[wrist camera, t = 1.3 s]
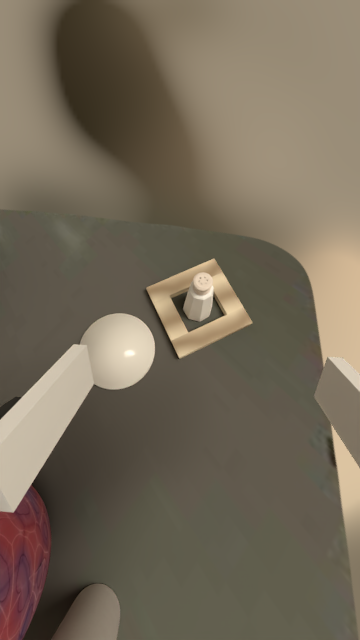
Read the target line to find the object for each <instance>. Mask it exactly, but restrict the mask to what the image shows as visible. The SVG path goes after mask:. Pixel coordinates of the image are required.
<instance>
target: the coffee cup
mask: <svg viewBox="0 0 360 640" xmlns="http://www.w3.org/2000/svg"><path fill="white" fill-rule="evenodd" d="M119 622H120V605H119V601H118V599H117V596H116V595H115V593H114V592H113V590H112V589H111V588H109V587H108V586H106V585H104V584H99V583H97V584H92V585H89V586H87V587H86V588H84V589H83V590H82V591H81V592H80V593H79V594H78V596H77V597H76V599H75V601H74V602H73V604H72V605H71V607H70V609H69V610H68V612H67V614H66V615H65V617H64V619H63V620H62V622H61V624H60V625H59V627H58V629H57V630H56V632H55V634H54V635H53V637H52V638H51V640H116V639H117V634H118V628H119Z"/></svg>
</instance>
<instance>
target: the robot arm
mask: <svg viewBox="0 0 360 640" xmlns="http://www.w3.org/2000/svg"><path fill="white" fill-rule="evenodd" d="M93 384H94V380H93V375H92V370H91V365H90V359H89V354H88V349H87V345H75V344H74V345H73V346H72V347H71V348H70V349H69V350H68V351H67V352H66V353H65V354H64V355H63V356H62V357H61V358H60V359H59V360H58V361H57V362H56V363H55V364H54V365H53V366H52V367H51V368H50V369H49V370H48V371H47V372H46V373H45V374H44V375H43V376H42V377H41V378H40V380H39V381H38V382H37V383H36V384H35V385H34V386H33V387H32V388H31V389H30V390H29V391H28V392H27V393H26V394H25V395H24V396H23V397H15V398H14V399H12V400H10V401H9V402H7V403H6V404H4V405H2V406H1V407H0V511H2V512H13V513H14V511H15V510H16V508H17V506H18V505H19V503H20V502H21V500H22V498H23V497H24V495H25V494H26V492H27V490H28V489H29V487H30V486H31V484H32V482H33V481H34V479H35V478H36V476H37V474H38V473H39V471H40V469H41V468H42V466H43V465H44V463H45V461H46V460H47V458H48V457H49V455H50V453H51V452H52V450H53V449H54V447H55V445H56V444H57V442H58V441H59V439H60V437H61V436H62V434H63V433H64V431H65V429H66V428H67V426H68V425H69V423H70V421H71V420H72V418H73V417H74V415H75V413H76V412H77V410H78V409H79V407H80V405H81V404H82V402H83V400H84V399H85V397H86V396H87V394H88V392H89V391H90V389H91V388H92V386H93ZM314 398H315V399H316V401H317V402H318V404H319V405H320V407H321V409H322V410H323V412H324V413H325V415H326V416H327V418H328V419H329V421H330V423H331V424H332V426H333V427H334V429H335V430H336V432H337V433H338V435H339V436H340V438H341V440H342V441H343V443H344V444H345V446H346V447H347V449H348V450H349V452H350V454H351V455H352V457H353V458H354V459H355V461H356V463H357V464H358V466H359V467H360V374H359V373H358V372H357V371H356V370H355V369H354V368H353V367H352V366H351V365H349V364H348V362H347V361H345V360H344V359H343V358H338V357H328V358H327V360H326V363H325V366H324V369H323V372H322V374H321V377H320V380H319V383H318V386H317V389H316V392H315V395H314Z"/></svg>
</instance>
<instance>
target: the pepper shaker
mask: <svg viewBox="0 0 360 640" xmlns="http://www.w3.org/2000/svg"><path fill="white" fill-rule="evenodd" d="M212 285H213V279H212V277H211V276H210V275H209V274H208V273H204V272H201V273H198V274H196V275H195V276H194V278H193V281H192V282H191V284H190V287H189V290H188V293H187V297H186V300H185V303H184V307H183V311H184V312H185V314H186V316H187V317H188V319H191V320H195V321H199V322H200V321H202V320H204V319H206V318H207V317H209V316H210V312H211V308H212V301H213V291H214V287H213V286H212Z"/></svg>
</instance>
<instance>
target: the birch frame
mask: <svg viewBox="0 0 360 640" xmlns="http://www.w3.org/2000/svg"><path fill="white" fill-rule="evenodd" d="M201 272H204V273H208V274H209V275H210V276H211V277H212V279H213V285H212V286H213V287H214V291H213V296H214V298H215V299H216V301H217V303H218V305H219V307H220V308H221V310H222V312H223V314H224V315H225V316H223V317H221V318H219V319H216V320H214V321H212V322H210V323H208V324H206V325H204V326H202V327H199V328H197V329H195V330H193V331H191V332H189V333H188V331H187V329H186V327H185V325H184V323H183V321H182V319H181V317H180V315H179V313H178V312H177V310H176V308H175V306H174V304H173V302H172V300H171V298H173V297H175V296H178V295H180V294H182V293H184V292H187V291H188V290H189V287H190V284H191V282H192V281H193V278H194V276H195V275H196V274H198V273H201ZM146 289H147V292H148V294H149V296H150V298H151V300H152V302H153V305H154V307H155V309H156V311H157V313H158V315H159V317H160V319H161V321H162V324H163V326H164V328H165V330H166V332H167V334H168V336H169V338H170V340H171V342H172V345H173V347H174V349H175V351H176V353H177V355H178V357H179V359H181V358H183V357H185V356H187V355H189V354H191V353H193V352H195V351H197V350H199V349H201V348H204V347H206V346H208V345H210V344H212V343H214V342H216V341H218V340H220V339H222V338H224V337H226V336H228V335H230V334H233V333H235V332H237V331H239V330H241V329H243V328H245V327H247V326H249V325H251V324H252V321H251V319H250V318H249V316H248V314H247V313H246V311H245V309H244V308H243V306H242V304H241V302H240V301H239V299H238V297H237V296H236V294H235V292H234V291H233V289H232V287H231V286H230V284H229V282H228V281H227V279H226V277H225V276H224V274H223V272H222V271H221V269H220V267H219V266H218V264H217V262H216V261H215V259H212V260H210V261H207V262H205V263H203V264H200V265H198V266H196V267H193V268H191V269H189V270H186V271H184V272H182V273H179V274H177V275H175V276H173V277H170V278H168V279H166V280H163V281H161V282H159V283H156V284H154V285H152V286H149V287H147V288H146Z"/></svg>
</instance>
